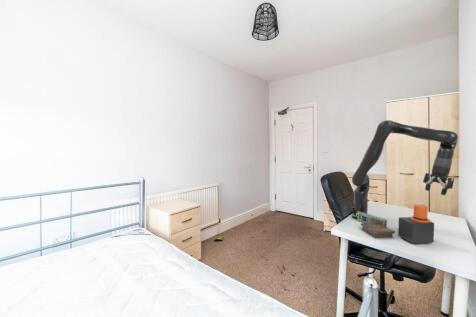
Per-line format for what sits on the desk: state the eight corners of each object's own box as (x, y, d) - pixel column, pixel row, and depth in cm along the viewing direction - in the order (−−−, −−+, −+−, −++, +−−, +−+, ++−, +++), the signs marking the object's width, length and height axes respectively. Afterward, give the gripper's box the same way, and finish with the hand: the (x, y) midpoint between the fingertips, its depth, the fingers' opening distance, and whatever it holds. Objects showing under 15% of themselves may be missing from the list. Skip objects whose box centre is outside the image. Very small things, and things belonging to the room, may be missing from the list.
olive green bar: (384, 230, 138) (350, 218, 161) (387, 229, 139) (353, 217, 162) (384, 220, 138) (350, 209, 161) (387, 219, 139) (353, 209, 162)
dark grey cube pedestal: (397, 236, 129) (398, 217, 128) (417, 236, 129) (418, 216, 128) (412, 244, 118) (412, 223, 118) (433, 244, 118) (434, 223, 118)
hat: (406, 217, 127) (406, 203, 126) (421, 217, 127) (421, 203, 127) (419, 223, 118) (419, 208, 118) (435, 222, 118) (435, 208, 118)
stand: (360, 229, 141) (360, 223, 141) (378, 228, 141) (378, 222, 141) (374, 238, 127) (374, 232, 127) (394, 237, 127) (394, 231, 127)
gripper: (461, 169, 119) (453, 197, 121) (434, 164, 133) (427, 189, 135) (450, 167, 117) (442, 195, 119) (424, 163, 131) (417, 188, 133)
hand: (434, 192), depth 127 cm, fingers open, 8 cm apart
